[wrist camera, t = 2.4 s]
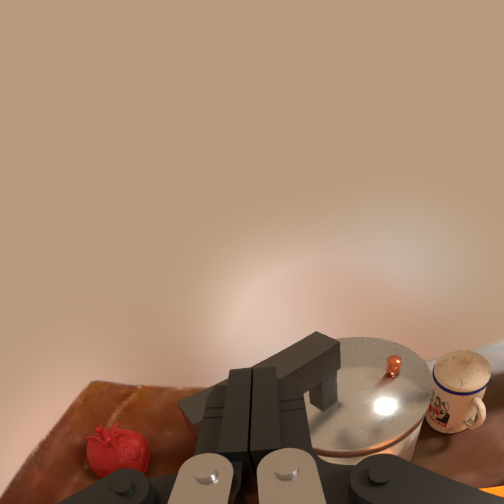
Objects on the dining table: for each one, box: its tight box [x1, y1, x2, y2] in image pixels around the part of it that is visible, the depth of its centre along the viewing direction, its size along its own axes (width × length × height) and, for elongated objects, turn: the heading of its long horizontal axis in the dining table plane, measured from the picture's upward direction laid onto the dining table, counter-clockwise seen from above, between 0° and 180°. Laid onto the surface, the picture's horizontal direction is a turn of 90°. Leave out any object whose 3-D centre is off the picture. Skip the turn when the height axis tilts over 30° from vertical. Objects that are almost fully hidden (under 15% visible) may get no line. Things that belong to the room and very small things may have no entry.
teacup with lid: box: [426, 350, 491, 433], centre depth 30 cm, size 12×9×12 cm
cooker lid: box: [177, 331, 433, 458], centre depth 27 cm, size 26×19×9 cm
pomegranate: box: [85, 421, 150, 478], centre depth 33 cm, size 10×10×9 cm
